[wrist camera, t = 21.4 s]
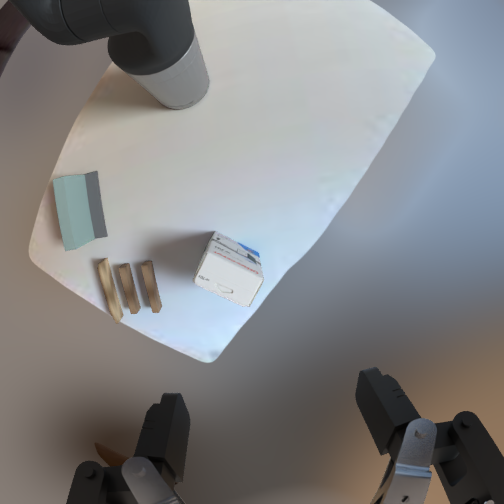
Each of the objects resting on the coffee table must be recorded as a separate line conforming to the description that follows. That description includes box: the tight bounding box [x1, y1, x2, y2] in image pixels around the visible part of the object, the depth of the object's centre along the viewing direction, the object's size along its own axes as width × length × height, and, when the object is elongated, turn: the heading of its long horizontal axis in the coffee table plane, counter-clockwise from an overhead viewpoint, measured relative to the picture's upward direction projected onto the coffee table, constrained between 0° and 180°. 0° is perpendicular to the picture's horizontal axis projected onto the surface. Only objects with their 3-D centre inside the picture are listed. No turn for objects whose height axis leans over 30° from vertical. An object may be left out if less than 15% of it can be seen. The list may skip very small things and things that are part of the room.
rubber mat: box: [84, 171, 107, 239], centre depth 42 cm, size 12×8×1 cm, turn 6°
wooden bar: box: [98, 258, 123, 323], centre depth 45 cm, size 12×2×4 cm, turn 6°
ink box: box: [193, 231, 264, 307], centre depth 41 cm, size 9×5×12 cm, turn 62°
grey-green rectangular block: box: [53, 175, 95, 251], centre depth 39 cm, size 7×2×12 cm
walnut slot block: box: [119, 261, 162, 314], centre depth 46 cm, size 9×6×2 cm, turn 6°
